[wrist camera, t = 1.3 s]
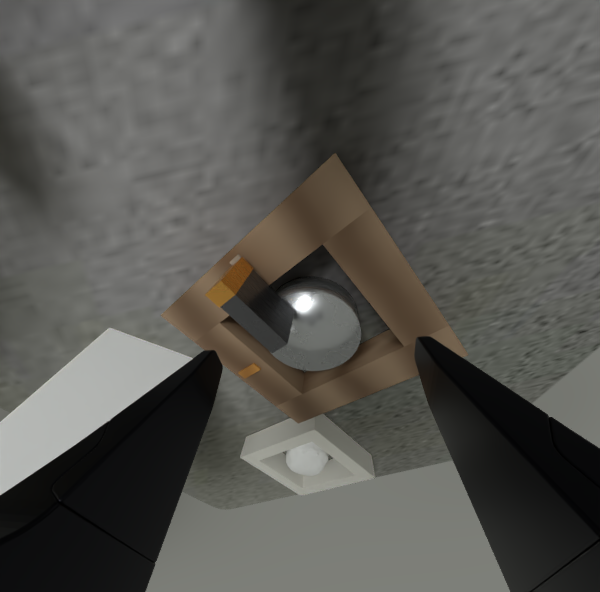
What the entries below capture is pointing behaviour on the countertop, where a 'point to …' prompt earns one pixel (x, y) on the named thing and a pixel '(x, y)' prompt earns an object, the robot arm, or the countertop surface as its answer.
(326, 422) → the frame
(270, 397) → the surround
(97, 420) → the milk
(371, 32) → the countertop surface
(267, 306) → the dial
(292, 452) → the garlic
